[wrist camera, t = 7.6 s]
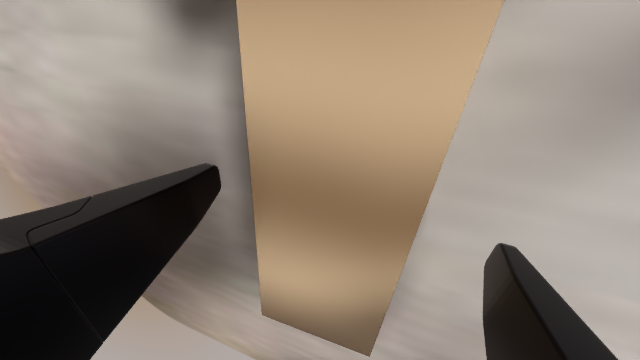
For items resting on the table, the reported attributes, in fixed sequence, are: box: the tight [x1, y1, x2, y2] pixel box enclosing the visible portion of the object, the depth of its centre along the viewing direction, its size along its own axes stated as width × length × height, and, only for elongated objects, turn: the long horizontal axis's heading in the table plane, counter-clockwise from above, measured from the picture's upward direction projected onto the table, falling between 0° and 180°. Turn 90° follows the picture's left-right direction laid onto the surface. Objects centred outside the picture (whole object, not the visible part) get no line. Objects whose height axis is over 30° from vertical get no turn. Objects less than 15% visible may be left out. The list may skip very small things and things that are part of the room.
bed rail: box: [236, 0, 504, 357], centre depth 8 cm, size 14×4×5 cm, turn 176°
